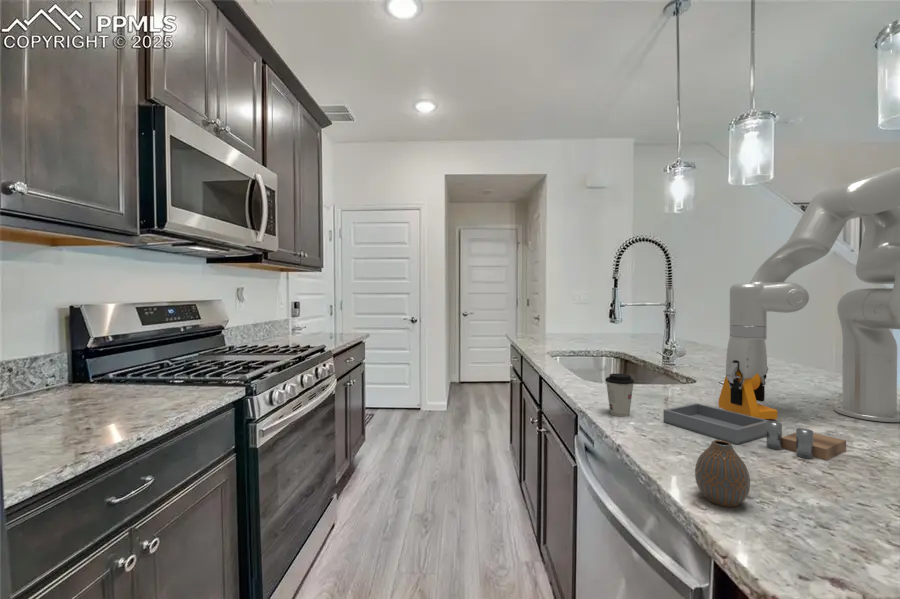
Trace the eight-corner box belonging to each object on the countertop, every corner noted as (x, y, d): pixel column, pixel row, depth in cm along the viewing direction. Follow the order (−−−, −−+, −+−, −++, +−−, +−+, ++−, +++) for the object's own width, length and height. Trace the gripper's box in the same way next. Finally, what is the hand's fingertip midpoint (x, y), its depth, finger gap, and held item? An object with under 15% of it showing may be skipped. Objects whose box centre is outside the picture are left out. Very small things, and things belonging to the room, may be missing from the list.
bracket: (779, 422, 98) (779, 372, 98) (750, 422, 98) (750, 372, 97) (744, 409, 109) (744, 364, 108) (718, 410, 108) (718, 364, 108)
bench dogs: (770, 444, 84) (770, 420, 83) (815, 457, 77) (815, 431, 77) (764, 446, 82) (764, 421, 82) (809, 459, 76) (809, 433, 76)
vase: (684, 490, 65) (684, 435, 65) (725, 488, 65) (725, 433, 65) (717, 514, 58) (717, 452, 58) (762, 511, 58) (762, 450, 58)
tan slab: (801, 441, 86) (801, 430, 86) (846, 453, 80) (846, 440, 80) (781, 450, 82) (781, 437, 82) (826, 462, 76) (826, 449, 76)
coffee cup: (605, 416, 104) (604, 377, 103) (605, 409, 110) (605, 372, 110) (635, 419, 101) (635, 379, 101) (634, 411, 107) (633, 373, 107)
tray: (696, 414, 104) (696, 403, 104) (771, 434, 89) (771, 421, 89) (663, 422, 98) (663, 409, 98) (737, 444, 84) (737, 430, 83)
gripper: (750, 329, 110) (750, 395, 110) (711, 333, 102) (711, 403, 103) (783, 332, 103) (783, 401, 104) (744, 335, 96) (743, 410, 96)
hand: (747, 401), depth 103 cm, fingers open, 7 cm apart
